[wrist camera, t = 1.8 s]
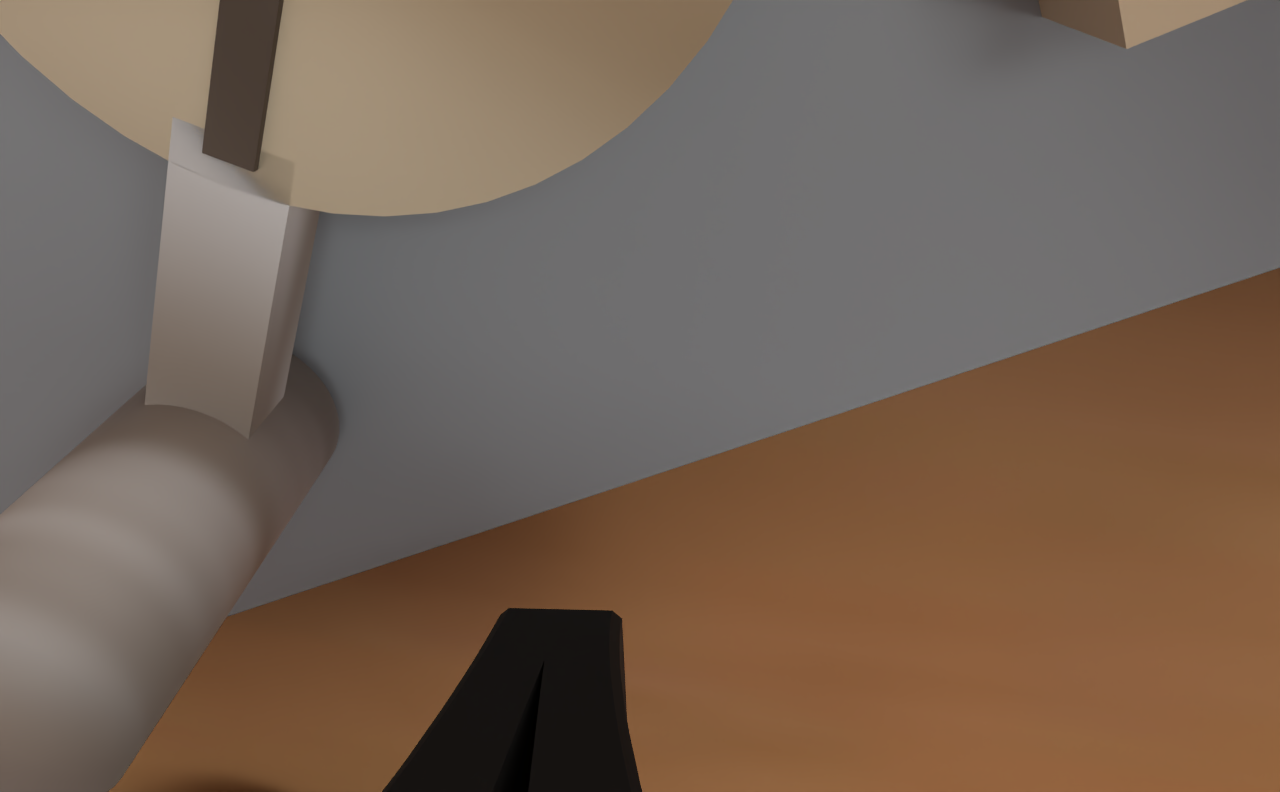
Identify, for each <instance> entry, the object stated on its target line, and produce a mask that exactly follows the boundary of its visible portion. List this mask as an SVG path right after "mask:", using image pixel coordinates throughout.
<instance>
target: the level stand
mask: <svg viewBox="0 0 1280 792" xmlns="http://www.w3.org/2000/svg"><path fill="white" fill-rule="evenodd" d="M167 169H168V160H166V159H164V158H162V157H161V156H159V155H157V154H155V153H154V152H152V151H150V150H148V149H146V148H145V147H143V146H141V145H139V144H138V143H136V142H134V141H132V140H130V139H129V138H127V137H125V136H124V135H122V134H121V133H119V132H118V131H116V130H115V129H114V128H112V127H111V126H109V125H108V124H106V123H105V122H104V121H102V120H101V119H99V118H98V117H97V116H95V115H94V114H92V113H91V112H89V111H88V110H87V109H85V108H84V107H82V106H81V105H79V104H78V103H77V102H75V101H74V100H72V99H71V98H70V97H69V96H68V95H67V94H65V93H64V92H63V91H62V90H61V89H60V88H58V87H57V86H56V85H55V84H54V83H53V82H51V81H50V80H49V79H48V78H47V77H46V76H44V75H43V74H42V73H41V72H40V71H39V70H37V69H36V68H35V67H34V66H33V65H31V64H30V63H29V62H28V61H27V60H26V59H24V58H23V57H22V56H21V55H20V54H19V53H18V52H17V51H16V50H15V49H14V48H13V47H12V46H11V45H10V44H9V43H8V41H7V40H6V39H5V38H4V37H3V36H2V35H1V34H0V514H1V513H3V512H4V511H5V510H6V509H7V508H8V507H9V506H10V505H11V504H13V503H14V502H15V501H16V500H17V499H18V498H19V497H20V496H22V495H23V494H24V493H25V492H26V491H27V490H28V489H29V488H31V487H32V486H33V485H34V484H35V483H36V482H37V481H38V480H39V479H41V478H42V477H43V476H44V475H45V474H46V473H47V472H48V471H50V470H51V469H52V468H53V467H54V466H55V465H56V464H57V463H59V462H60V461H61V460H62V459H63V458H64V457H65V456H66V455H68V454H69V453H70V452H71V451H72V450H73V449H74V448H75V447H76V446H78V445H79V444H80V443H81V442H82V441H83V440H84V439H85V438H87V437H88V436H89V435H90V434H91V433H92V432H93V431H94V430H96V429H97V428H98V427H99V426H100V425H101V424H102V423H103V422H105V421H106V420H107V419H108V418H109V417H110V416H111V415H112V414H113V413H115V412H116V411H117V410H118V409H119V408H120V407H121V406H122V405H124V404H125V403H126V402H127V401H128V400H129V399H130V398H131V397H133V396H134V395H135V394H136V393H137V392H138V391H139V390H140V389H142V388H143V387H144V386H145V385H146V384H147V374H148V364H149V353H150V343H151V333H152V323H153V313H154V302H155V292H156V282H157V272H158V261H159V251H160V241H161V231H162V221H163V210H164V200H165V190H166V180H167ZM1277 268H1280V0H733V1H732V3H731V4H730V6H729V7H728V9H727V11H726V12H725V14H724V15H723V17H722V19H721V20H720V22H719V23H718V25H717V27H716V28H715V30H714V31H713V33H712V34H711V36H710V38H709V39H708V41H707V42H706V43H705V45H704V46H703V47H702V48H701V49H700V51H699V52H698V53H697V54H696V56H695V57H694V58H693V59H692V61H691V62H690V63H689V64H688V65H687V67H686V68H685V69H684V70H683V72H682V73H681V74H680V75H679V76H678V78H677V79H676V80H675V81H674V83H673V84H672V85H671V86H670V87H669V89H668V90H666V91H665V92H664V93H663V94H662V95H661V96H660V97H659V98H658V99H657V100H656V101H655V102H654V103H653V104H652V105H651V106H650V107H648V108H647V109H646V110H645V111H644V112H643V113H642V114H641V115H640V116H639V117H638V118H637V119H636V120H635V121H634V122H633V123H631V124H630V125H629V126H628V127H627V128H626V129H625V130H623V131H622V132H620V133H619V134H618V135H616V136H615V137H613V138H612V139H611V140H609V141H608V142H606V143H605V144H604V145H602V146H601V147H599V148H598V149H597V150H595V151H594V152H593V153H591V154H590V155H588V156H587V157H586V158H584V159H583V160H581V161H579V162H577V163H575V164H573V165H572V166H570V167H568V168H566V169H564V170H562V171H560V172H558V173H556V174H554V175H553V176H551V177H549V178H547V179H545V180H543V181H541V182H539V183H537V184H535V185H533V186H530V187H527V188H524V189H522V190H519V191H516V192H513V193H511V194H508V195H505V196H502V197H499V198H497V199H494V200H491V201H488V202H485V203H480V204H475V205H471V206H466V207H461V208H456V209H452V210H447V211H442V212H438V213H426V214H413V215H399V216H367V215H349V214H333V213H327V212H322V211H320V214H319V219H318V224H317V229H316V234H315V239H314V244H313V250H312V255H311V260H310V265H309V270H308V275H307V280H306V285H305V291H304V296H303V301H302V306H301V311H300V316H299V321H298V326H297V332H296V337H295V342H294V347H293V352H292V354H293V355H294V356H296V357H297V358H299V359H300V360H301V361H302V362H304V363H305V364H306V365H307V366H309V368H310V369H311V370H312V371H313V372H314V373H315V374H316V375H317V376H318V377H319V378H320V380H321V381H322V382H323V383H324V385H325V386H326V388H327V390H328V391H329V393H330V395H331V397H332V399H333V401H334V403H335V407H336V410H337V413H338V419H339V437H338V442H337V445H336V448H335V451H334V453H333V454H332V456H331V458H330V459H329V461H328V462H327V464H326V466H325V467H324V469H323V470H322V472H321V473H320V475H319V476H318V478H317V479H316V481H315V482H314V484H313V485H312V487H311V489H310V490H309V492H308V493H307V495H306V496H305V498H304V499H303V501H302V502H301V504H300V505H299V507H298V508H297V510H296V511H295V513H294V515H293V516H292V518H291V519H290V521H289V522H288V524H287V525H286V527H285V528H284V530H283V531H282V533H281V534H280V536H279V538H278V539H277V541H276V542H275V544H274V545H273V547H272V548H271V550H270V551H269V553H268V554H267V556H266V557H265V559H264V561H263V562H262V564H261V565H260V567H259V568H258V570H257V571H256V573H255V574H254V576H253V577H252V579H251V580H250V582H249V583H248V585H247V587H246V588H245V590H244V591H243V593H242V594H241V596H240V597H239V599H238V600H237V602H236V603H235V605H234V606H233V608H232V610H231V611H230V613H229V614H228V616H231V615H234V614H237V613H240V612H243V611H246V610H249V609H252V608H255V607H258V606H261V605H264V604H267V603H270V602H273V601H276V600H279V599H282V598H285V597H288V596H291V595H294V594H297V593H300V592H303V591H306V590H309V589H312V588H315V587H318V586H321V585H324V584H327V583H330V582H333V581H336V580H339V579H342V578H345V577H348V576H351V575H354V574H357V573H360V572H363V571H366V570H369V569H372V568H375V567H378V566H381V565H384V564H387V563H390V562H393V561H396V560H399V559H402V558H405V557H408V556H412V555H415V554H418V553H421V552H424V551H427V550H430V549H433V548H436V547H439V546H442V545H445V544H448V543H451V542H454V541H457V540H460V539H463V538H466V537H469V536H472V535H475V534H478V533H481V532H484V531H487V530H490V529H493V528H496V527H499V526H502V525H505V524H508V523H511V522H514V521H517V520H520V519H523V518H526V517H529V516H532V515H535V514H538V513H541V512H544V511H547V510H550V509H553V508H556V507H559V506H562V505H565V504H568V503H571V502H574V501H577V500H580V499H583V498H586V497H589V496H593V495H596V494H599V493H602V492H605V491H608V490H611V489H614V488H617V487H620V486H623V485H626V484H629V483H632V482H635V481H638V480H641V479H644V478H647V477H650V476H653V475H656V474H659V473H662V472H665V471H668V470H671V469H674V468H677V467H680V466H683V465H686V464H689V463H692V462H695V461H698V460H701V459H704V458H707V457H710V456H713V455H716V454H719V453H722V452H725V451H728V450H731V449H734V448H737V447H740V446H743V445H746V444H749V443H752V442H755V441H758V440H761V439H764V438H767V437H770V436H773V435H777V434H780V433H783V432H786V431H789V430H792V429H795V428H798V427H801V426H804V425H807V424H810V423H813V422H816V421H819V420H822V419H825V418H828V417H831V416H834V415H837V414H840V413H843V412H846V411H849V410H852V409H855V408H858V407H861V406H864V405H867V404H870V403H873V402H876V401H879V400H882V399H885V398H888V397H891V396H894V395H897V394H900V393H903V392H906V391H909V390H912V389H915V388H918V387H921V386H924V385H927V384H930V383H933V382H936V381H939V380H942V379H945V378H948V377H951V376H954V375H958V374H961V373H964V372H967V371H970V370H973V369H976V368H979V367H982V366H985V365H988V364H991V363H994V362H997V361H1000V360H1003V359H1006V358H1009V357H1012V356H1015V355H1018V354H1021V353H1024V352H1027V351H1030V350H1033V349H1036V348H1039V347H1042V346H1045V345H1048V344H1051V343H1054V342H1057V341H1060V340H1063V339H1066V338H1069V337H1072V336H1075V335H1078V334H1081V333H1084V332H1087V331H1090V330H1093V329H1096V328H1099V327H1102V326H1105V325H1108V324H1111V323H1114V322H1117V321H1120V320H1123V319H1126V318H1129V317H1132V316H1135V315H1139V314H1142V313H1145V312H1148V311H1151V310H1154V309H1157V308H1160V307H1163V306H1166V305H1169V304H1172V303H1175V302H1178V301H1181V300H1184V299H1187V298H1190V297H1193V296H1196V295H1199V294H1202V293H1205V292H1208V291H1211V290H1214V289H1217V288H1220V287H1223V286H1226V285H1229V284H1232V283H1235V282H1238V281H1241V280H1244V279H1247V278H1250V277H1253V276H1256V275H1259V274H1262V273H1265V272H1268V271H1271V270H1274V269H1277Z"/></svg>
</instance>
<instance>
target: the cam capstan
mask: <svg viewBox="0 0 1280 792" xmlns="http://www.w3.org/2000/svg"><path fill="white" fill-rule="evenodd" d="M732 1H733V0H0V34H1V35H2V36H3V37H4V38H5V39H6V40H7V41H8V43H9V44H10V45H11V46H12V47H13V48H14V49H15V50H16V51H17V52H18V53H19V54H20V55H21V56H22V57H23V58H24V59H26V60H27V61H28V62H29V63H30V64H31V65H33V66H34V67H35V68H36V69H37V70H39V71H40V72H41V73H42V74H43V75H44V76H46V77H47V78H48V79H49V80H50V81H51V82H53V83H54V84H55V85H56V86H57V87H58V88H60V89H61V90H62V91H63V92H64V93H65V94H67V95H68V96H69V97H70V98H71V99H72V100H74V101H75V102H77V103H78V104H79V105H81V106H82V107H84V108H85V109H87V110H88V111H89V112H91V113H92V114H94V115H95V116H97V117H98V118H99V119H101V120H102V121H104V122H105V123H106V124H108V125H109V126H111V127H112V128H114V129H115V130H116V131H118V132H119V133H121V134H122V135H124V136H125V137H127V138H129V139H130V140H132V141H134V142H136V143H138V144H139V145H141V146H143V147H145V148H146V149H148V150H150V151H152V152H154V153H155V154H157V155H159V156H161V157H162V158H164V159H166V160H168V169H167V180H166V190H165V200H164V210H163V221H162V231H161V241H160V251H159V261H158V272H157V282H156V292H155V302H154V313H153V323H152V333H151V343H150V353H149V364H148V374H147V384H146V385H145V386H144V387H143V388H142V389H140V390H139V391H138V392H137V393H136V394H135V395H134V396H133V397H131V398H130V399H129V400H128V401H127V402H126V403H125V404H124V405H122V406H121V407H120V408H119V409H118V410H117V411H116V412H115V413H113V414H112V415H111V416H110V417H109V418H108V419H107V420H106V421H105V422H103V423H102V424H101V425H100V426H99V427H98V428H97V429H96V430H94V431H93V432H92V433H91V434H90V435H89V436H88V437H87V438H85V439H84V440H83V441H82V442H81V443H80V444H79V445H78V446H76V447H75V448H74V449H73V450H72V451H71V452H70V453H69V454H68V455H66V456H65V457H64V458H63V459H62V460H61V461H60V462H59V463H57V464H56V465H55V466H54V467H53V468H52V469H51V470H50V471H48V472H47V473H46V474H45V475H44V476H43V477H42V478H41V479H39V480H38V481H37V482H36V483H35V484H34V485H33V486H32V487H31V488H29V489H28V490H27V491H26V492H25V493H24V494H23V495H22V496H20V497H19V498H18V499H17V500H16V501H15V502H14V503H13V504H11V505H10V506H9V507H8V508H7V509H6V510H5V511H4V512H3V513H1V514H0V792H108V791H109V790H110V789H112V788H113V787H114V786H115V785H116V784H117V783H118V782H119V780H120V779H121V778H122V776H123V775H124V773H125V772H126V770H127V769H128V767H129V766H130V764H131V763H132V761H133V760H134V758H135V757H136V755H137V753H138V752H139V750H140V749H141V747H142V746H143V744H144V743H145V741H146V740H147V738H148V737H149V735H150V734H151V732H152V730H153V729H154V727H155V726H156V724H157V723H158V721H159V720H160V718H161V717H162V715H163V714H164V712H165V711H166V709H167V708H168V706H169V704H170V703H171V701H172V700H173V698H174V697H175V695H176V694H177V692H178V691H179V689H180V688H181V686H182V685H183V683H184V681H185V680H186V678H187V677H188V675H189V674H190V672H191V671H192V669H193V668H194V666H195V665H196V663H197V662H198V660H199V659H200V657H201V655H202V654H203V652H204V651H205V649H206V648H207V646H208V645H209V643H210V642H211V640H212V639H213V637H214V636H215V634H216V632H217V631H218V629H219V628H220V626H221V625H222V623H223V622H224V620H225V619H226V617H227V616H228V614H229V613H230V611H231V610H232V608H233V606H234V605H235V603H236V602H237V600H238V599H239V597H240V596H241V594H242V593H243V591H244V590H245V588H246V587H247V585H248V583H249V582H250V580H251V579H252V577H253V576H254V574H255V573H256V571H257V570H258V568H259V567H260V565H261V564H262V562H263V561H264V559H265V557H266V556H267V554H268V553H269V551H270V550H271V548H272V547H273V545H274V544H275V542H276V541H277V539H278V538H279V536H280V534H281V533H282V531H283V530H284V528H285V527H286V525H287V524H288V522H289V521H290V519H291V518H292V516H293V515H294V513H295V511H296V510H297V508H298V507H299V505H300V504H301V502H302V501H303V499H304V498H305V496H306V495H307V493H308V492H309V490H310V489H311V487H312V485H313V484H314V482H315V481H316V479H317V478H318V476H319V475H320V473H321V472H322V470H323V469H324V467H325V466H326V464H327V462H328V461H329V459H330V458H331V456H332V454H333V453H334V451H335V448H336V445H337V442H338V437H339V419H338V413H337V410H336V407H335V403H334V401H333V399H332V397H331V395H330V393H329V391H328V390H327V388H326V386H325V385H324V383H323V382H322V381H321V380H320V378H319V377H318V376H317V375H316V374H315V373H314V372H313V371H312V370H311V369H310V368H309V366H307V365H306V364H305V363H304V362H302V361H301V360H300V359H299V358H297V357H296V356H294V355H293V354H292V352H293V347H294V342H295V337H296V332H297V326H298V321H299V316H300V311H301V306H302V301H303V296H304V291H305V285H306V280H307V275H308V270H309V265H310V260H311V255H312V250H313V244H314V239H315V234H316V229H317V224H318V219H319V214H320V211H322V212H327V213H333V214H349V215H367V216H399V215H413V214H426V213H438V212H442V211H447V210H452V209H456V208H461V207H466V206H471V205H475V204H480V203H485V202H488V201H491V200H494V199H497V198H499V197H502V196H505V195H508V194H511V193H513V192H516V191H519V190H522V189H524V188H527V187H530V186H533V185H535V184H537V183H539V182H541V181H543V180H545V179H547V178H549V177H551V176H553V175H554V174H556V173H558V172H560V171H562V170H564V169H566V168H568V167H570V166H572V165H573V164H575V163H577V162H579V161H581V160H583V159H584V158H586V157H587V156H588V155H590V154H591V153H593V152H594V151H595V150H597V149H598V148H599V147H601V146H602V145H604V144H605V143H606V142H608V141H609V140H611V139H612V138H613V137H615V136H616V135H618V134H619V133H620V132H622V131H623V130H625V129H626V128H627V127H628V126H629V125H630V124H631V123H633V122H634V121H635V120H636V119H637V118H638V117H639V116H640V115H641V114H642V113H643V112H644V111H645V110H646V109H647V108H648V107H650V106H651V105H652V104H653V103H654V102H655V101H656V100H657V99H658V98H659V97H660V96H661V95H662V94H663V93H664V92H665V91H666V90H668V89H669V87H670V86H671V85H672V84H673V83H674V81H675V80H676V79H677V78H678V76H679V75H680V74H681V73H682V72H683V70H684V69H685V68H686V67H687V65H688V64H689V63H690V62H691V61H692V59H693V58H694V57H695V56H696V54H697V53H698V52H699V51H700V49H701V48H702V47H703V46H704V45H705V43H706V42H707V41H708V39H709V38H710V36H711V34H712V33H713V31H714V30H715V28H716V27H717V25H718V23H719V22H720V20H721V19H722V17H723V15H724V14H725V12H726V11H727V9H728V7H729V6H730V4H731V3H732Z"/></svg>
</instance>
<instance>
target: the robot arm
mask: <svg viewBox="0 0 1280 792" xmlns="http://www.w3.org/2000/svg"><path fill="white" fill-rule="evenodd" d="M382 792H642V789H641V785H640V781H639V776H638V771H637V767H636V762H635V758H634V753H633V748H632V744H631V739H630V734H629V729H628V723H627V712H626V691H625V671H624V651H623V630H622V618H620V617H619V616H618V615H617V614H616V613H614V612H613V611H604V610H563V609H522V608H508V609H507V610H506V611H505V612H504V613H502V614H501V615H500V617H499V618H498V620H497V622H496V624H495V625H494V627H493V629H492V631H491V632H490V634H489V636H488V638H487V639H486V641H485V643H484V644H483V646H482V648H481V649H480V651H479V653H478V654H477V656H476V657H475V659H474V661H473V662H472V664H471V665H470V667H469V669H468V670H467V672H466V673H465V675H464V677H463V678H462V680H461V681H460V683H459V684H458V686H457V687H456V689H455V690H454V692H453V693H452V695H451V696H450V698H449V699H448V701H447V702H446V704H445V705H444V707H443V708H442V710H441V711H440V713H439V714H438V715H437V717H436V718H435V720H434V721H433V723H432V724H431V725H430V727H429V728H428V730H427V731H426V732H425V734H424V735H423V737H422V738H421V740H420V741H419V742H418V744H417V745H416V747H415V748H414V750H413V751H412V752H411V754H410V755H409V757H408V758H407V759H406V761H405V762H404V764H403V765H402V766H401V768H400V769H399V770H398V772H397V773H396V774H395V776H394V777H393V778H392V779H391V781H390V782H389V783H388V785H387V786H386V787H385V788H384V790H383V791H382Z"/></svg>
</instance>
